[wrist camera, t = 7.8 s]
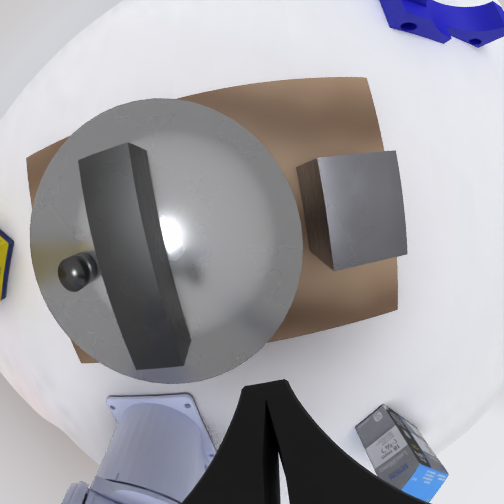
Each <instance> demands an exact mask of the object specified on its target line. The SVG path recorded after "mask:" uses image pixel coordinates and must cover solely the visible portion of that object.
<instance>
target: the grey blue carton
mask: <svg viewBox="0 0 504 504" xmlns="http://www.w3.org/2000/svg"><path fill="white" fill-rule="evenodd" d="M355 429H356V431H357V433H358V435H359V437H360V439H361V441H362V444H363V446H364V448H365V450H366V452H367V454H368V456H369V459H370V461H371V463H372V465H373V467H374V469H375V472H376V474H377V476H378V477H379V478H381V479H382V480H384V481H386V482H388V483H389V484H391V485H393V486H395V487H396V488H398V489H400V490H402V491H404V492H405V493H407V494H410V495H412V496H414V497H416V498H419V499H421V500H423V501H425V502H428V503H429V502H430V501H431V499H432V498H433V497H434V495H435V494H436V492H437V491H438V490H439V488H440V487H441V485H442V484H443V483H444V481H445V480H446V478H447V477H448V472H447V471H446V469H445V468H444V466H443V465H442V464H441V462H440V461H439V460H438V458H437V457H436V455H435V454H434V452H433V451H432V450H431V448H430V447H429V445H428V444H427V442H426V441H425V440H424V438H423V437H422V435H421V433H420V432H419V430H418V429H417V428H416V427H415V426H413V425H412V424H410V423H409V422H408V421H406V420H405V419H403V418H402V417H401V416H399V415H398V414H396V413H395V412H394V411H392V410H391V409H389V408H388V407H386V406H385V405H381V406H380V407H378V408H377V409H376V410H375V411H374V412H373V413H371V414H370V415H369V416H368V417H367V418H366V419H364V420H363V421H362V422H361V423H359V424H358V425H357V426H356V427H355Z"/></svg>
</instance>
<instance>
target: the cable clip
mask: <svg viewBox="0 0 504 504" xmlns="http://www.w3.org/2000/svg"><path fill="white" fill-rule="evenodd" d="M379 1H380V3H381V6H382V8H383V11H384V13H385V16H386V18H387V21H388V24H389V27H390V28H394V29H398V30H401V31H405V32H409V33H412V34H416V35H419V36H422V37H426V38H429V39H432V40H435V41H437V42H440V43H443V44H444V43H445V42H447V41H449V40H450V39H452V38H451V36H453V37H456V38H458V39H460V40H463V41H465V42H467V43H469V44H471V45H473V46H475V47H478V48H479V47H481V46H483V45H485V44H487V43H490V42H492V41H494V40H496V39H499V38H501V37H503V36H504V11H503V9H502V7H500V6H499V5H498V4H496V3H495V2H493V1H492V2H490V3H487V4H484V5H481V6H475V7H455V6H449V5H444V4H441V3H438V2H435V1H433V0H379ZM450 35H451V36H450Z"/></svg>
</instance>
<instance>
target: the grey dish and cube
mask: <svg viewBox="0 0 504 504" xmlns="http://www.w3.org/2000/svg"><path fill="white" fill-rule="evenodd" d="M296 170H297V176H298V181H299V187H300V193H301V198H302V204H303V210H304V217H305V223H306V229H307V236H308V243H309V250H310V252H312V253H313V254H314V255H315V256H316V257H318V258H319V259H320V260H321V261H322V262H323V263H325V264H326V265H327V266H328V267H329V268H331V269H332V270H333V271H338V270H342V269H347V268H351V267H355V266H360V265H364V264H368V263H373V262H377V261H381V260H385V259H389V258H394V257H398V256H402V255H406V254H407V238H406V224H405V213H404V204H403V195H402V187H401V180H400V173H399V167H398V161H397V156H396V151H382V152H369V153H357V154H347V155H337V156H329V157H320V158H316V159H313V160H311V161H309V162H306V163H304V164H302V165H299V166H297V167H296Z"/></svg>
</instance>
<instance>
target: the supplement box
mask: <svg viewBox="0 0 504 504" xmlns="http://www.w3.org/2000/svg"><path fill="white" fill-rule="evenodd" d="M13 244H14V242H13V241H12V240H11V239H10V238H9V237H8V236H6V235H5V234H4V233H3V232H2V231H0V300H2V299H4V298H5V297H6V289H7V280H8V273H9V266H10V260H11V255H12V248H13Z"/></svg>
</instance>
